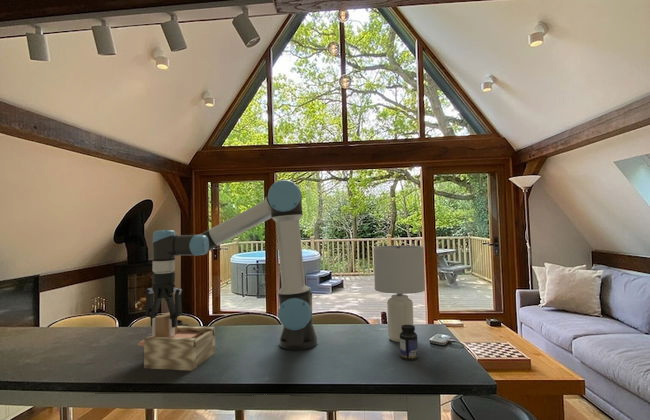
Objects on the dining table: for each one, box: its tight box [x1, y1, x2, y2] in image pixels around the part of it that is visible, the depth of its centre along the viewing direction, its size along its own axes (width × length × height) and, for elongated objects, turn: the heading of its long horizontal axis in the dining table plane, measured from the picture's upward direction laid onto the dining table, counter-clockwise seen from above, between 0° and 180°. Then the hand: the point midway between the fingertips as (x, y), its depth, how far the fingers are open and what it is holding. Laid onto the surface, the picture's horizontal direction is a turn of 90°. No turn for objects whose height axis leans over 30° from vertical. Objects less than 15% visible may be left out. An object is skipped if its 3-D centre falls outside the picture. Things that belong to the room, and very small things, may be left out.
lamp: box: [373, 244, 426, 343], centre depth 148 cm, size 20×20×39 cm
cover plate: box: [137, 311, 201, 347], centre depth 130 cm, size 16×14×9 cm
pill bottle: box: [399, 324, 419, 361], centre depth 127 cm, size 6×6×11 cm
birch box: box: [143, 325, 216, 371], centre depth 129 cm, size 18×16×10 cm
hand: (163, 335), depth 130 cm, fingers open, 6 cm apart
